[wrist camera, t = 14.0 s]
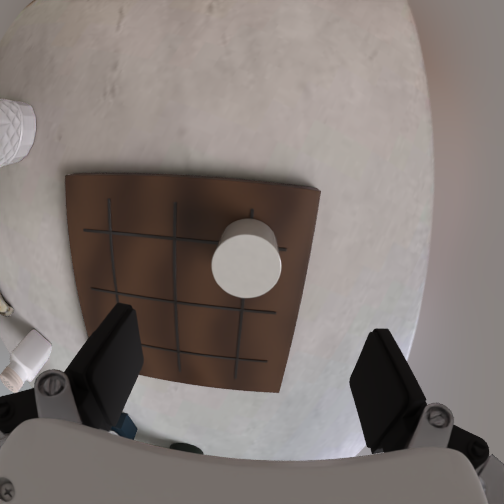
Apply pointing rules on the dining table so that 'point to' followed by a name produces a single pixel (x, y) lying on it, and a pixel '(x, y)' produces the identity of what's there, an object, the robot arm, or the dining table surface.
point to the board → (189, 271)
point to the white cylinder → (246, 259)
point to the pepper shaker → (26, 361)
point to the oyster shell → (5, 308)
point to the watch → (124, 427)
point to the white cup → (15, 130)
